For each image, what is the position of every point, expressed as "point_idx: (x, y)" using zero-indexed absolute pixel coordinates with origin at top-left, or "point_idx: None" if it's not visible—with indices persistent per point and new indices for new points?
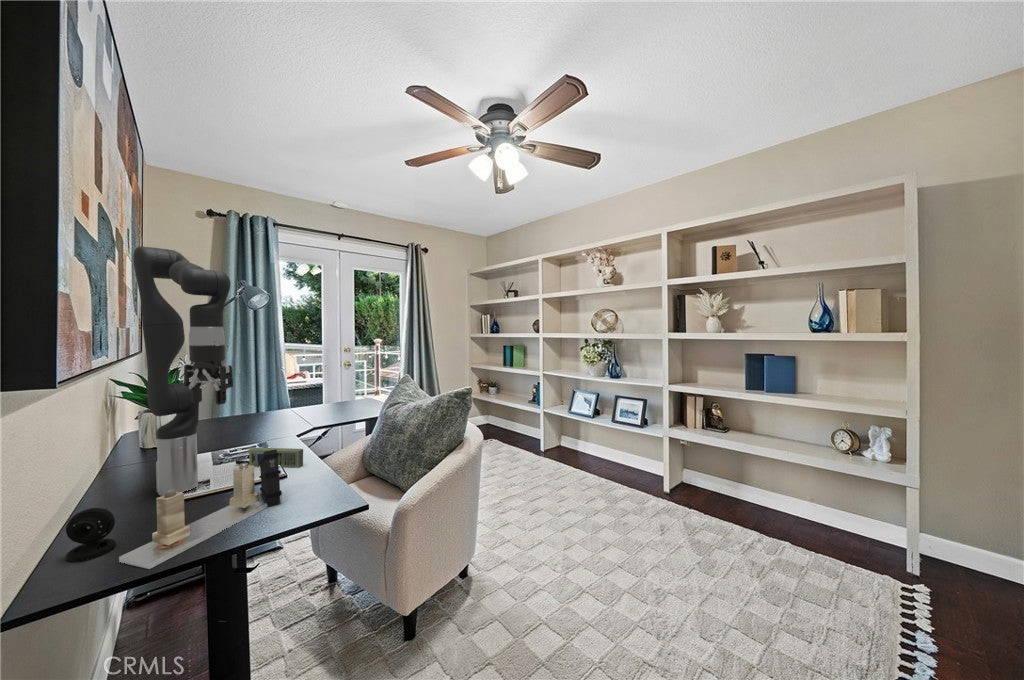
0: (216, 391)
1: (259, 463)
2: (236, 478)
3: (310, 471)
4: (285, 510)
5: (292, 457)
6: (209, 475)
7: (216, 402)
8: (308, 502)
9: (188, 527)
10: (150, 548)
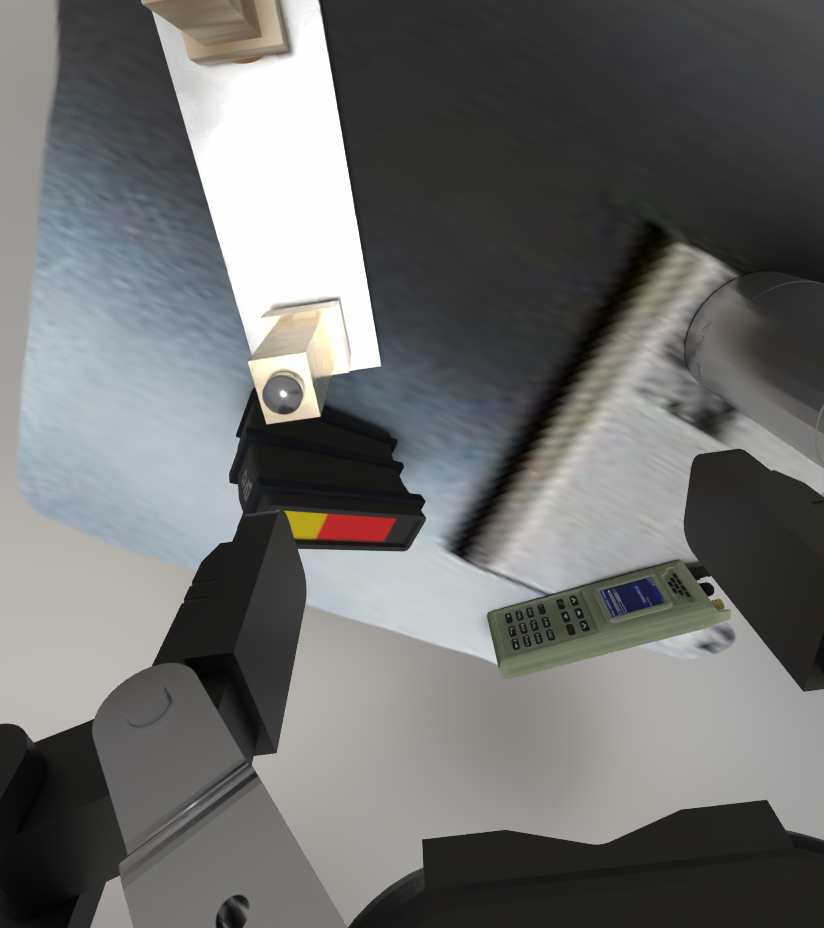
0: (210, 649)
1: (390, 492)
2: (292, 343)
3: (419, 607)
4: (181, 388)
5: (520, 634)
6: None
7: (261, 520)
8: (175, 457)
9: (187, 53)
10: None
